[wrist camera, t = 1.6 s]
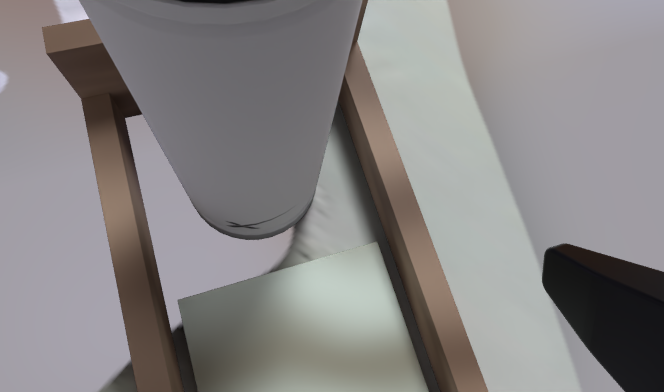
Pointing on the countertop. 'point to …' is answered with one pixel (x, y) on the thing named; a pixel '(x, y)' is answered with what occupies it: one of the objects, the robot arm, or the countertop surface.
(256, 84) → the travel mug
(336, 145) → the countertop surface
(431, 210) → the countertop surface
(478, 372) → the shelf lane
